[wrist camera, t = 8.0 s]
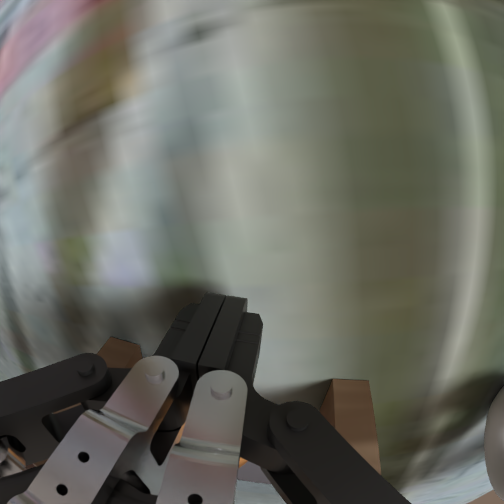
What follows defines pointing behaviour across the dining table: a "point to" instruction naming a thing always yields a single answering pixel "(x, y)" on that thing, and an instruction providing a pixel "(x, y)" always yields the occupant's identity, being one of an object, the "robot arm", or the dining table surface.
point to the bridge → (333, 408)
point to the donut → (495, 444)
